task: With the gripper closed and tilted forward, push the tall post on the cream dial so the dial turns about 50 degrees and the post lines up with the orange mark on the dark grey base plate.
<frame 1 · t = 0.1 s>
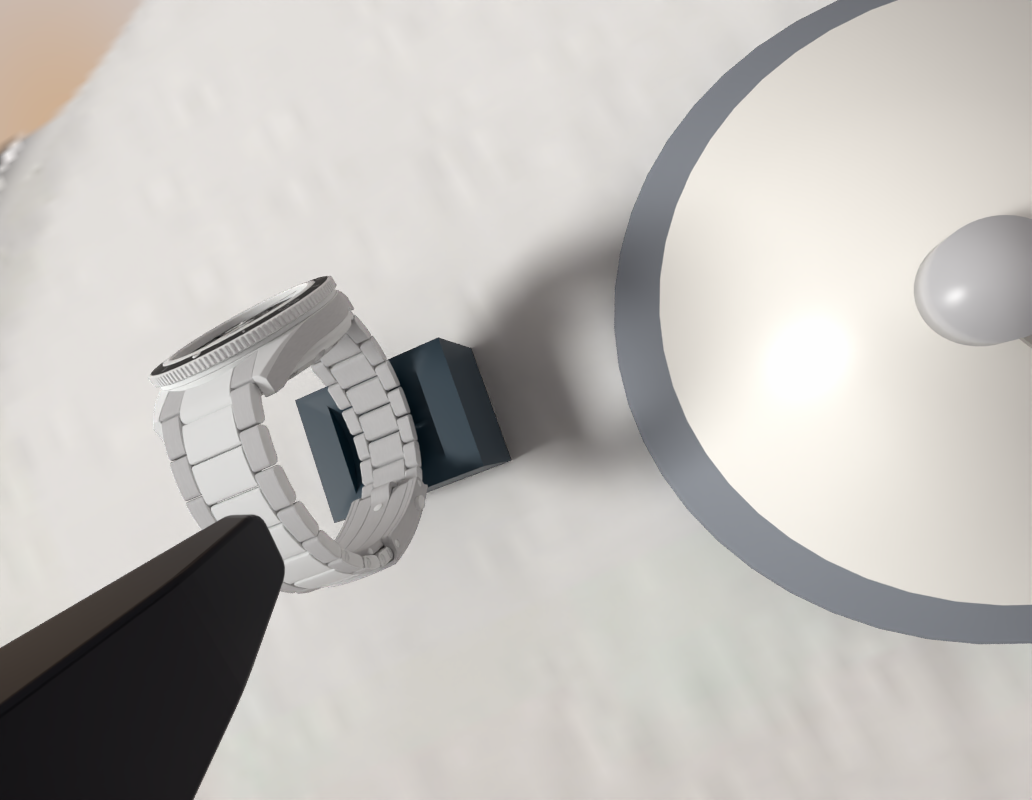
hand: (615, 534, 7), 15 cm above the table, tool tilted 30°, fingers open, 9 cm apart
watch: (424, 428, 24), on the table
dial base: (935, 308, 20), on the table
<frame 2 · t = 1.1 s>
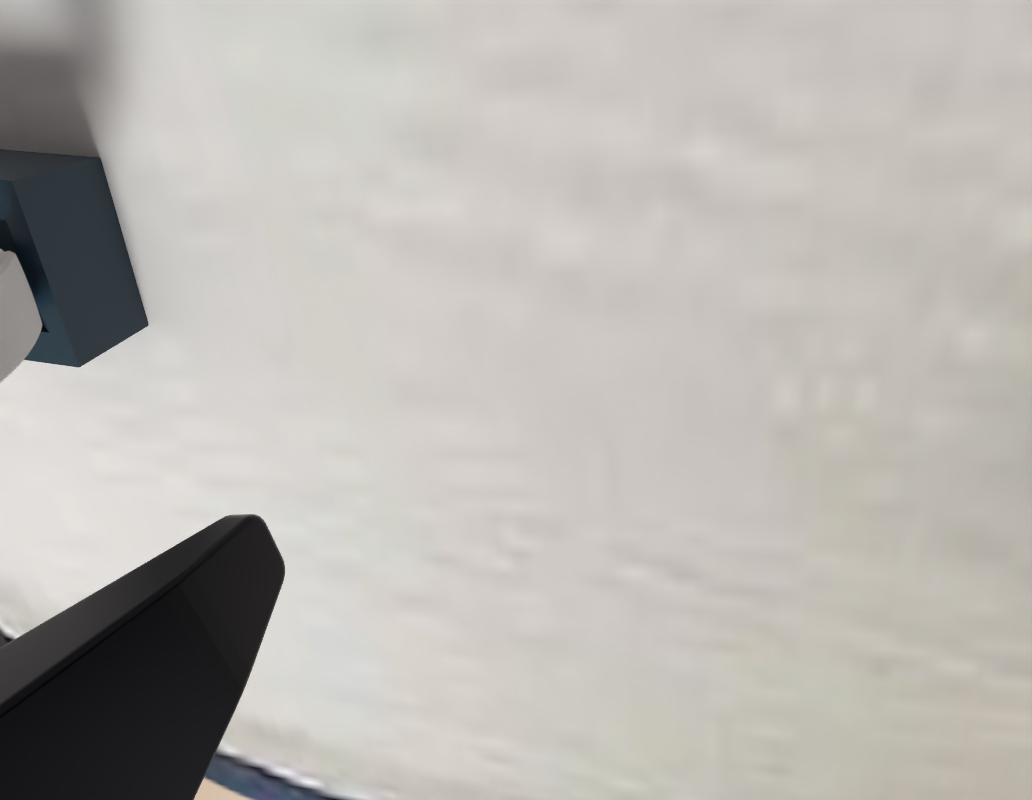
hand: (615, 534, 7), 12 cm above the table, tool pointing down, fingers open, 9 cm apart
watch: (69, 240, 22), on the table
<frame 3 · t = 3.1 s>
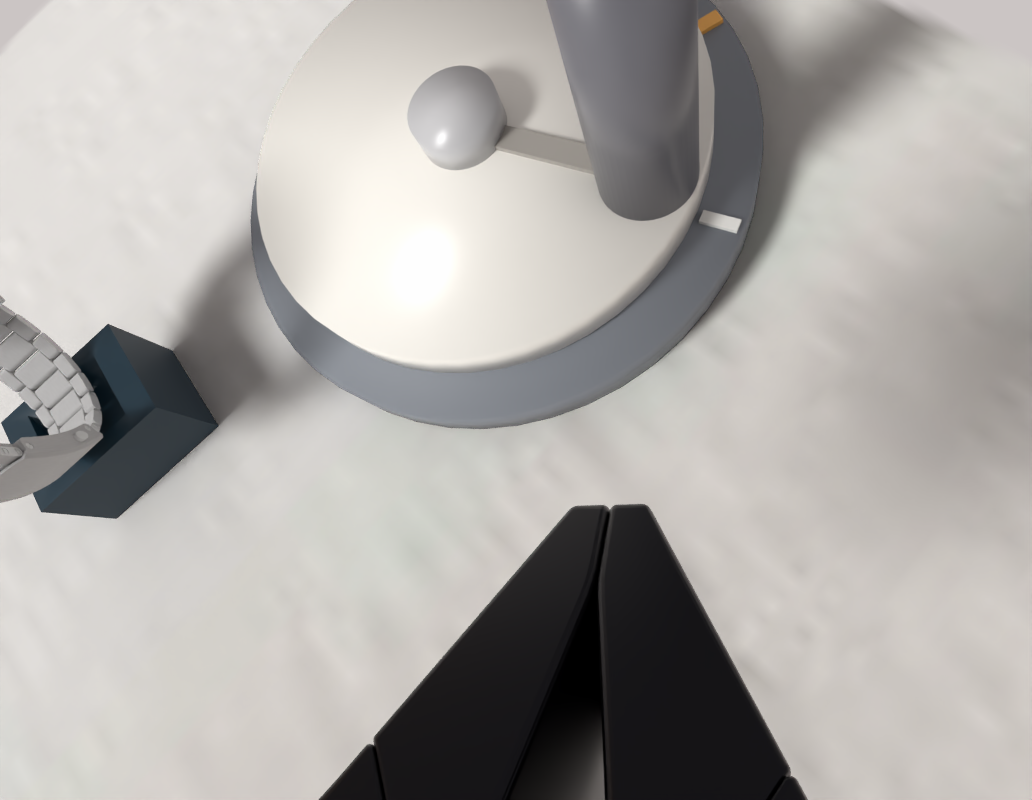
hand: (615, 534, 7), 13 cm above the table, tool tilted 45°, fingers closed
watch: (146, 432, 27), on the table
dial base: (492, 183, 25), on the table
dial: (419, 48, 18), point 7 cm above the table, hinge at 0.0°
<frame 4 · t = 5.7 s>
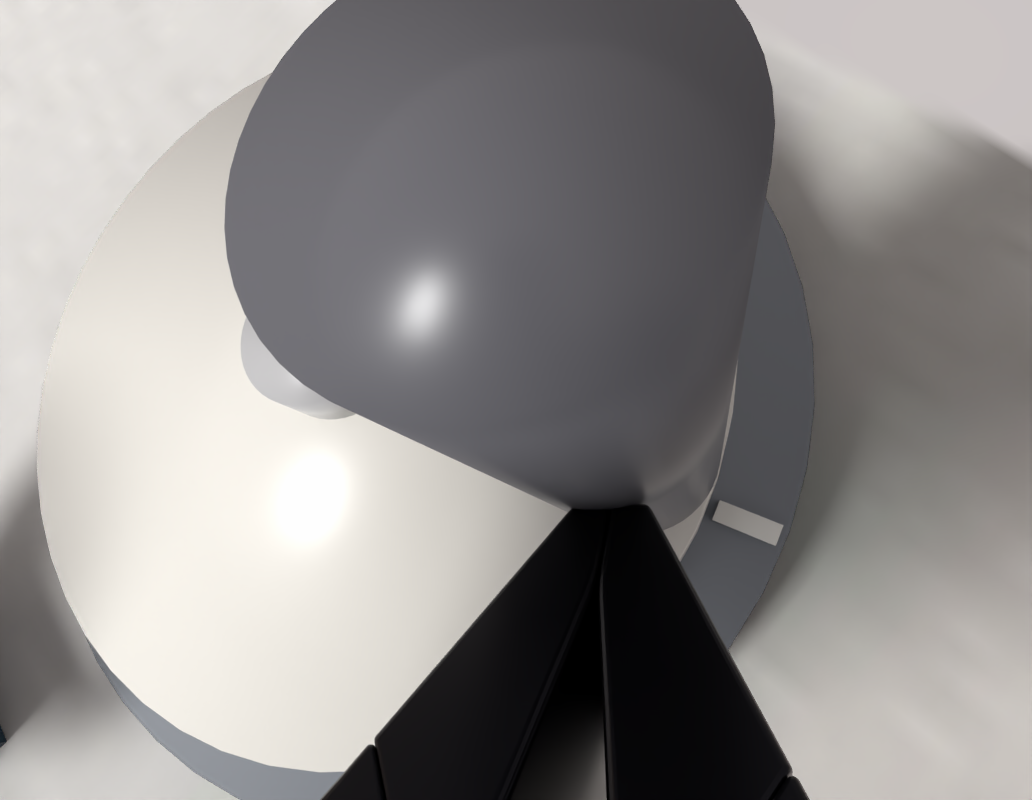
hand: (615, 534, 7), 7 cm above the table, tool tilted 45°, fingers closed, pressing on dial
dial base: (403, 390, 17), on the table
dial: (220, 277, 10), point 7 cm above the table, hinge at 2.8°, touching gripper
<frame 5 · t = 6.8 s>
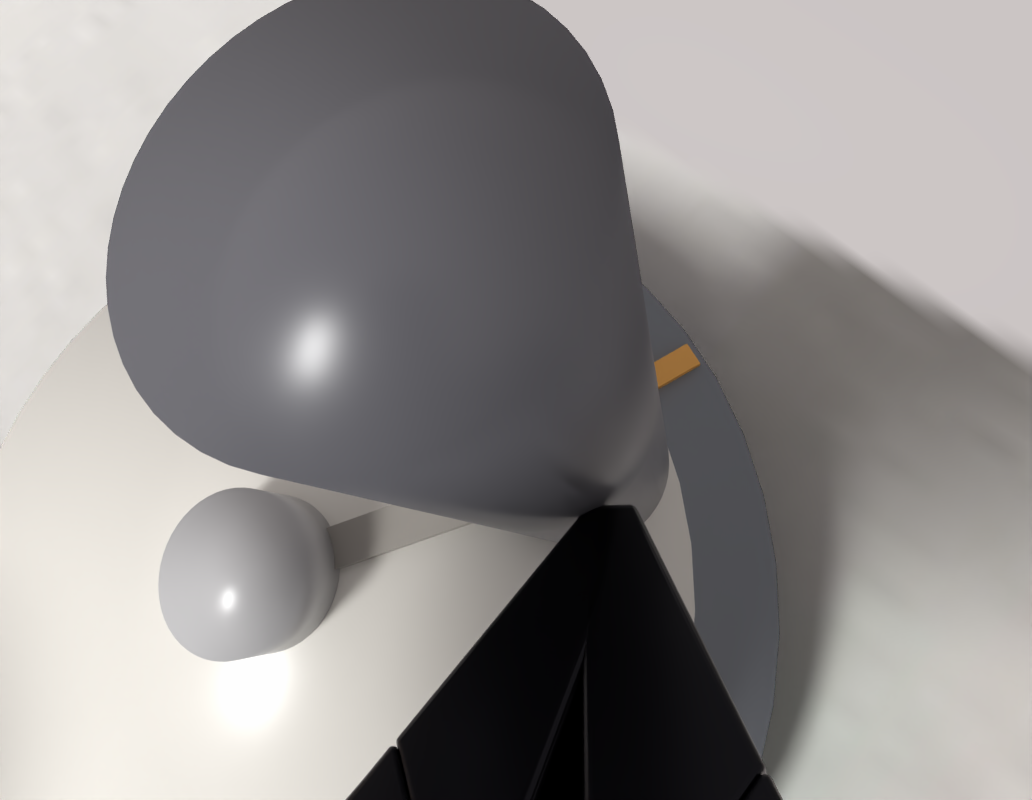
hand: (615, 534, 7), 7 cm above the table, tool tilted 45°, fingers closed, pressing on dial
dial base: (349, 571, 16), on the table
dial: (117, 571, 9), point 7 cm above the table, hinge at 39.8°, touching gripper
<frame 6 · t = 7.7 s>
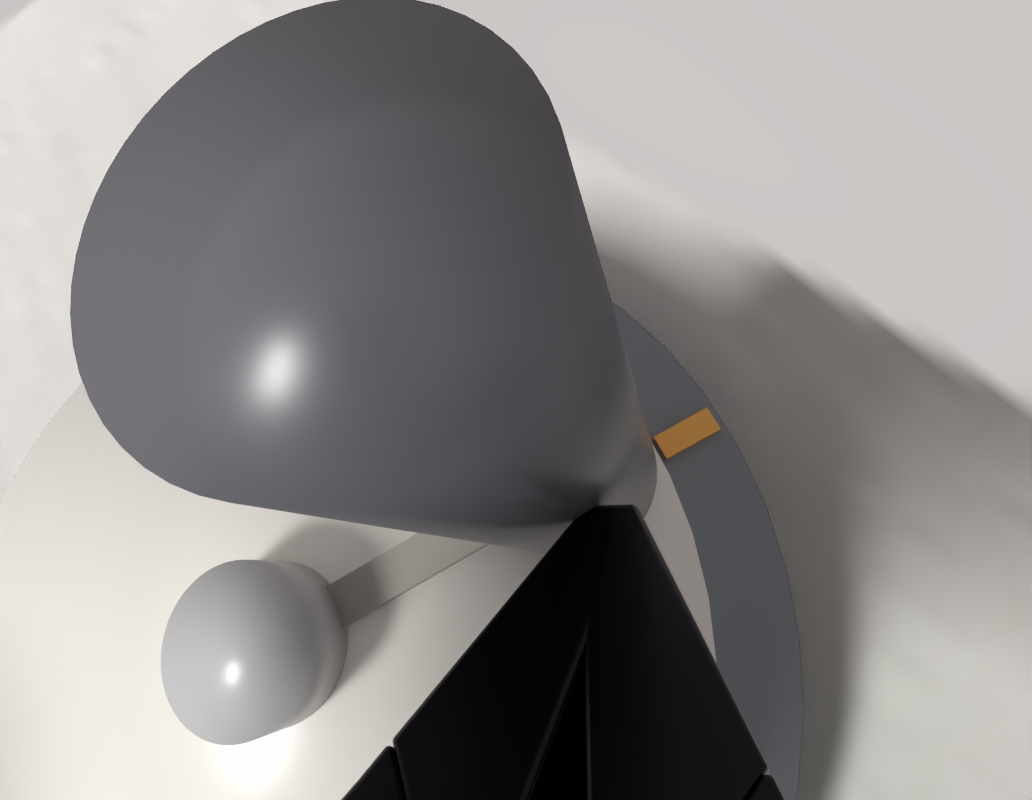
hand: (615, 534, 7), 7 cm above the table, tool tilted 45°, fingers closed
dial base: (356, 629, 15), on the table
dial: (117, 667, 9), point 7 cm above the table, hinge at 51.0°, touching gripper
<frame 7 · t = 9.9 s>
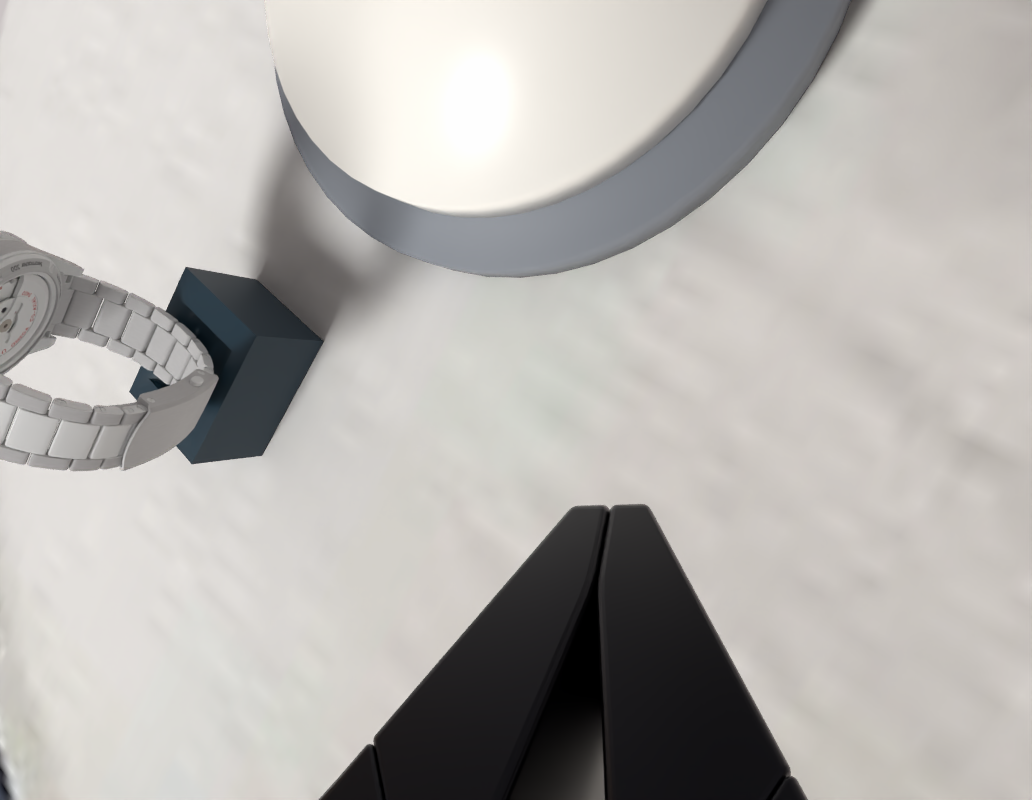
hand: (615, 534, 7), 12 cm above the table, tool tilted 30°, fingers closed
watch: (261, 367, 26), on the table
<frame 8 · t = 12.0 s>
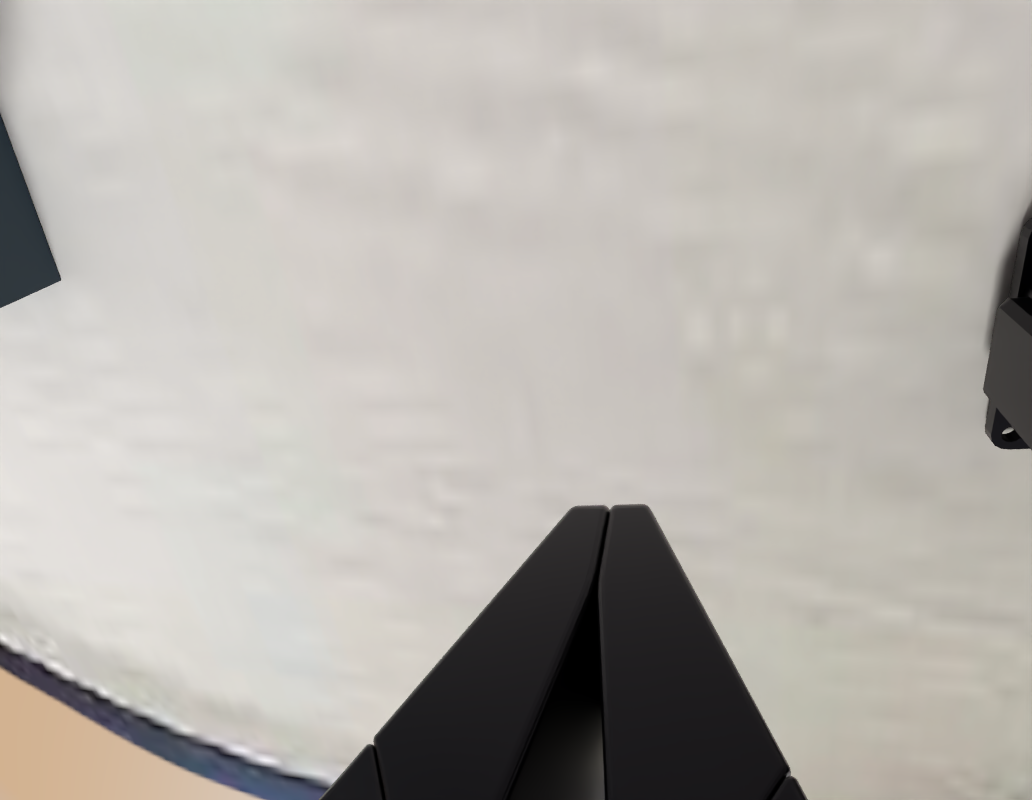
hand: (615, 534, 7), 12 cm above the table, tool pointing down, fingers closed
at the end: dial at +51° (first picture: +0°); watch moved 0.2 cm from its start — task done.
